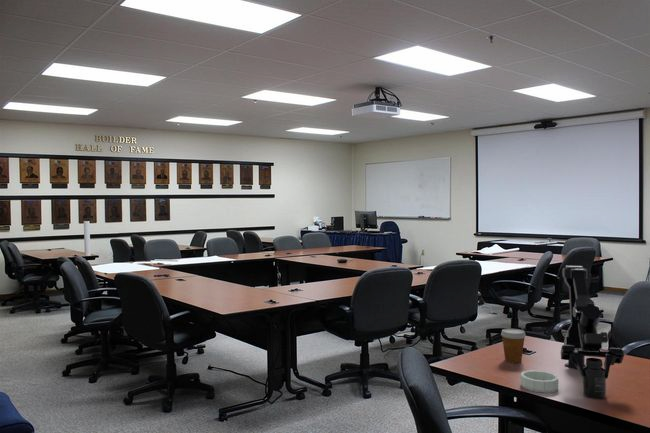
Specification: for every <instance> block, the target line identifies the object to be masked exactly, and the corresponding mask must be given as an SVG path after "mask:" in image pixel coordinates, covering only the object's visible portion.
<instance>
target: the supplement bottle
mask: <svg viewBox="0 0 650 433" xmlns="http://www.w3.org/2000/svg"><path fill="white" fill-rule="evenodd" d="M585 364H586V365H587V366H585V367H584V368H583V371H584V377H582V394H583V396H586V397H588V398H589V399H596V400H597V399H598V400H600V399H605V398H606V397H607V379H606V371H605V368H604V367H603V366H604V363H603V360H602V359H600V358H599V357H586V359H585Z"/></svg>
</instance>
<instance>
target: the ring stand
mask: <svg viewBox="0 0 650 433" xmlns="http://www.w3.org/2000/svg"><path fill="white" fill-rule="evenodd" d="M520 386H521V387H522V388H523V389H525V390H528V391H530V392H534V393H548V394H549V393H554V392H555V393H556V392H558V391H559V376H558V375H556V374H554V373H552V372H549V371H543V370H533V369H532V370H524V371H521V373H520Z"/></svg>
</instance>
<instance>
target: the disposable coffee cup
mask: <svg viewBox="0 0 650 433" xmlns="http://www.w3.org/2000/svg"><path fill="white" fill-rule="evenodd" d="M500 335H501V337H502V338H501V340H502V346H503V353H504V354H503V355H504V360H505V362H508V361H510V362H509V363H521V362H522V359H523V351H524V350H523V349H524V343H525V338H526V332H525V331H524V330H523V329H517V328H504V329H503V328H502V330H501V333H500Z"/></svg>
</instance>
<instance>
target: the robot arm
mask: <svg viewBox="0 0 650 433" xmlns="http://www.w3.org/2000/svg"><path fill="white" fill-rule="evenodd" d="M562 278H563V280H564V283H565V285H566V286H567V287H568V293H569V314H570V315H569V316H570V317H569V318H570V325H569V327H568V329H567V331H566V335H565V336H564V341H563V345H561V349H560V359H561V360H563V361H568V362H567V363H564V366H565V367H568V368H569V367H570V368H574V369H576V370H577V371H578V372H579V374H580V376H581V377H582V378H583V377H584V371H583V368H584V367H585V366H587V365H586V359H585V357H588V358H604V362H603V366H604V367H603V368H604V369H605V371H606V380H607V379H608V378H609V373H610V368H611V366H614V365H615V364H622V363H623V360H624V357H625V353H624V352H625V351H624V350H623V348H621V347H609V349H608V351H607V350H606V351H603V350H601V349H602V348H603V346H602V345H603V344H606V343H608V342H609V335H608V332H604V331H601V332H600V333H598V329H597V327H598V326H599V323H600V320H601V317H602V310H600V308H599V307H597V306H595V302H594V300H592V299H591V298H590V294H589V290H588V285H587V279H588V268H584V267H583V265H565V267H564V268H562Z"/></svg>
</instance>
